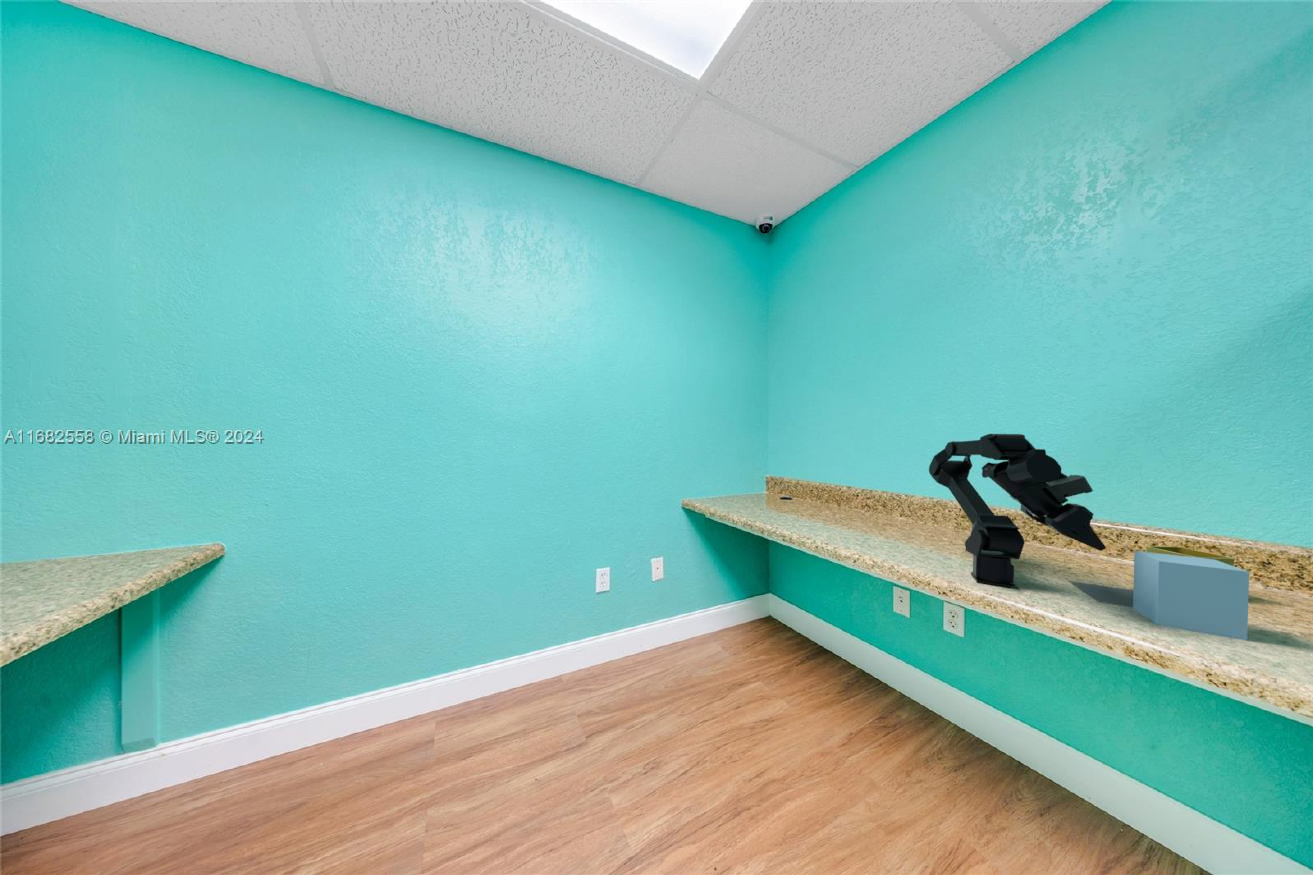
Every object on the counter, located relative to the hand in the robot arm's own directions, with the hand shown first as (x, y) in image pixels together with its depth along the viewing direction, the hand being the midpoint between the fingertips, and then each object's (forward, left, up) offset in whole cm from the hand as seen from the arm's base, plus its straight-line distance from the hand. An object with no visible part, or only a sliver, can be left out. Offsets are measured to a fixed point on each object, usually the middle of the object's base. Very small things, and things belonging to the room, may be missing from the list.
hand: (1091, 543), depth 78 cm
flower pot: (+23, +21, -13) cm, 34 cm away
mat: (+9, +7, -12) cm, 17 cm away
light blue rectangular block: (+11, -4, -12) cm, 17 cm away
